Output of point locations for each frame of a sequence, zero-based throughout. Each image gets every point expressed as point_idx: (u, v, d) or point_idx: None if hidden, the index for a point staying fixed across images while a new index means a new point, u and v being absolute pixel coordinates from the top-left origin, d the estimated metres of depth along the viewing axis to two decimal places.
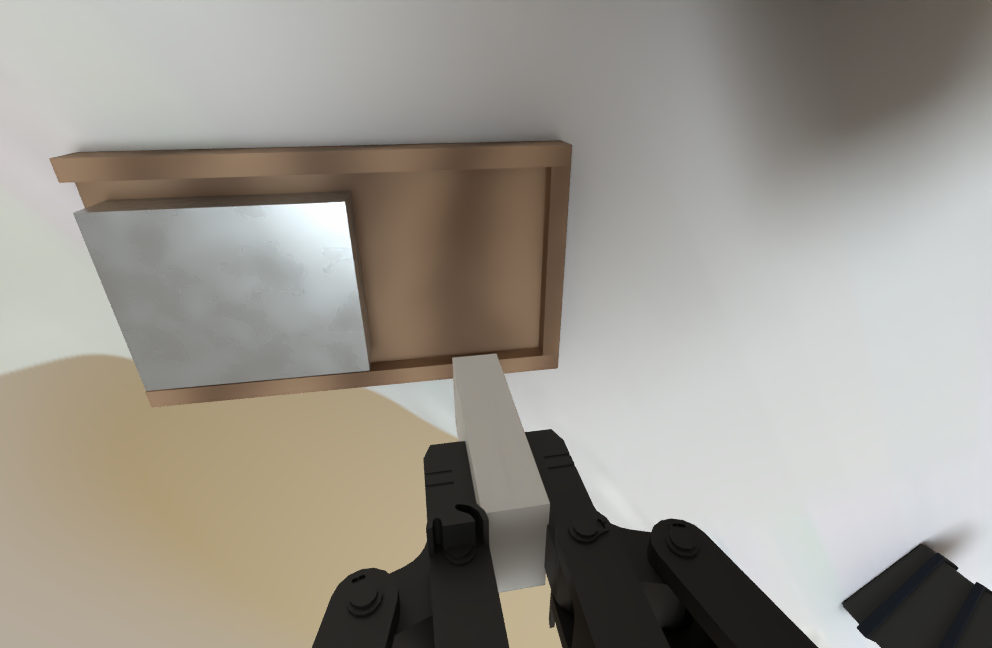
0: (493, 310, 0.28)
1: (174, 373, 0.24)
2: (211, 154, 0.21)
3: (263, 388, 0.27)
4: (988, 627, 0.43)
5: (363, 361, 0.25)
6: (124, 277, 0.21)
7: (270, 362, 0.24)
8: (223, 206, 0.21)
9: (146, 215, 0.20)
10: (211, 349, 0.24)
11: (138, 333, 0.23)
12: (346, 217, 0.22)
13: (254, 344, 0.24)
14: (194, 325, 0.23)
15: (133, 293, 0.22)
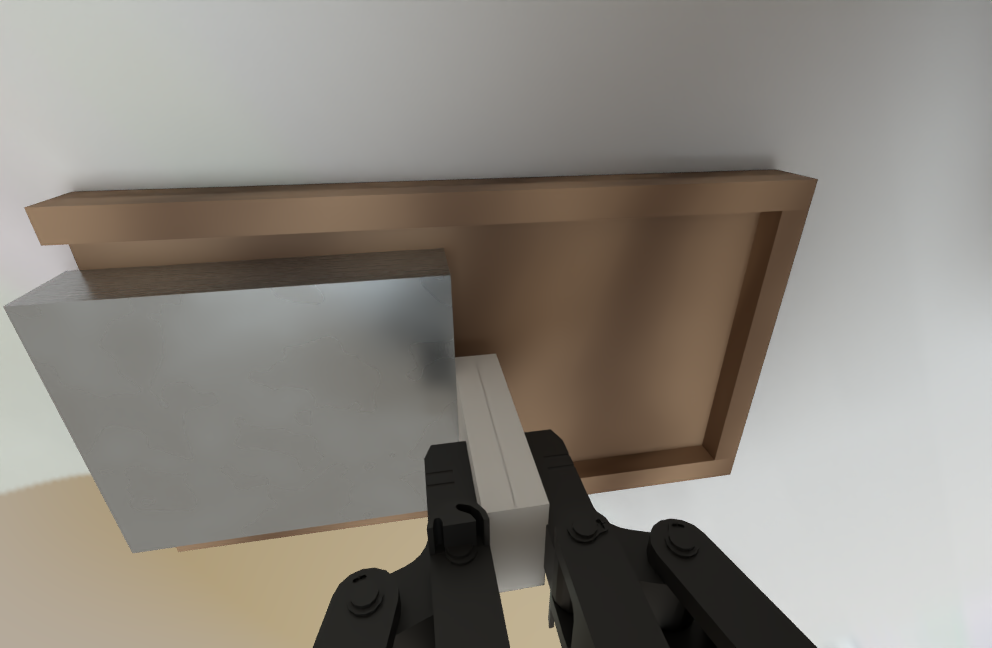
0: (653, 401, 0.20)
1: (175, 527, 0.16)
2: (288, 198, 0.13)
3: None
4: None
5: None
6: (95, 399, 0.13)
7: (320, 504, 0.16)
8: (256, 287, 0.13)
9: (129, 306, 0.12)
10: (233, 493, 0.15)
11: (118, 477, 0.14)
12: (450, 298, 0.14)
13: (296, 481, 0.16)
14: (206, 461, 0.15)
15: (109, 423, 0.14)
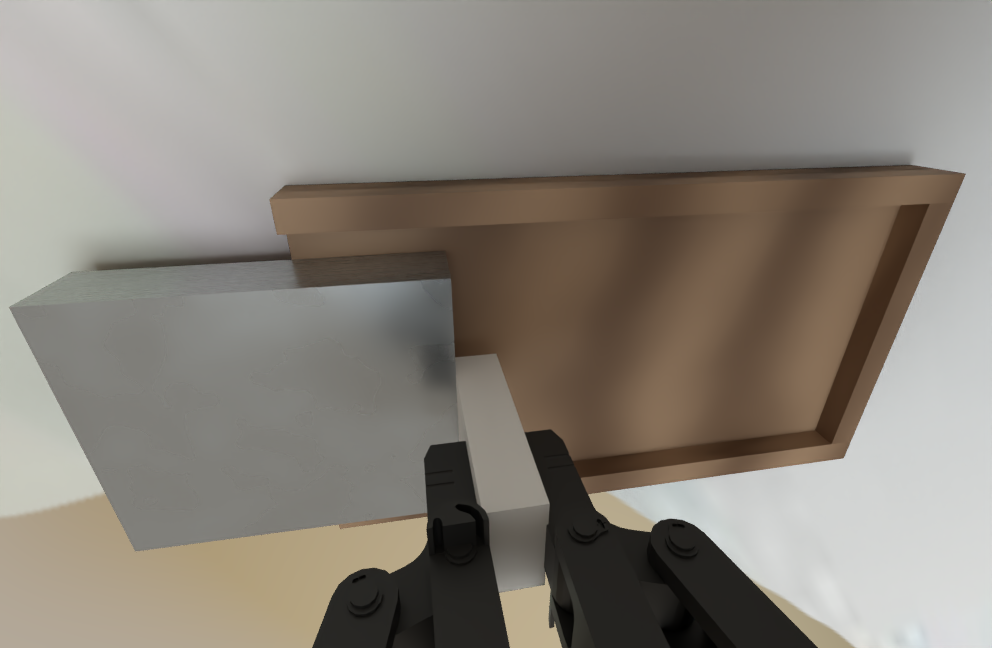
0: (777, 387, 0.21)
1: (177, 526, 0.16)
2: (496, 191, 0.14)
3: None
4: None
5: None
6: (98, 399, 0.13)
7: (321, 505, 0.16)
8: (258, 289, 0.13)
9: (132, 307, 0.12)
10: (234, 493, 0.16)
11: (122, 476, 0.15)
12: (451, 301, 0.14)
13: (297, 482, 0.16)
14: (208, 461, 0.15)
15: (113, 422, 0.14)
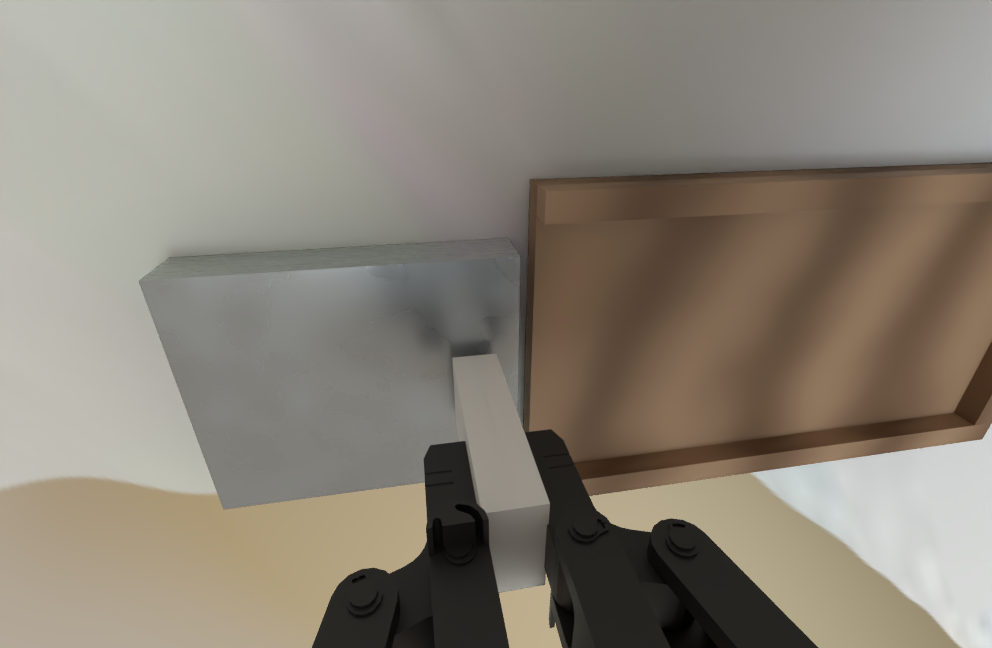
0: (928, 371, 0.22)
1: (263, 486, 0.17)
2: (736, 183, 0.15)
3: (664, 476, 0.21)
4: None
5: None
6: (206, 366, 0.15)
7: (391, 466, 0.18)
8: (352, 265, 0.14)
9: (244, 281, 0.14)
10: (316, 454, 0.17)
11: (219, 438, 0.16)
12: (518, 277, 0.15)
13: (372, 445, 0.17)
14: (296, 424, 0.16)
15: (216, 387, 0.15)
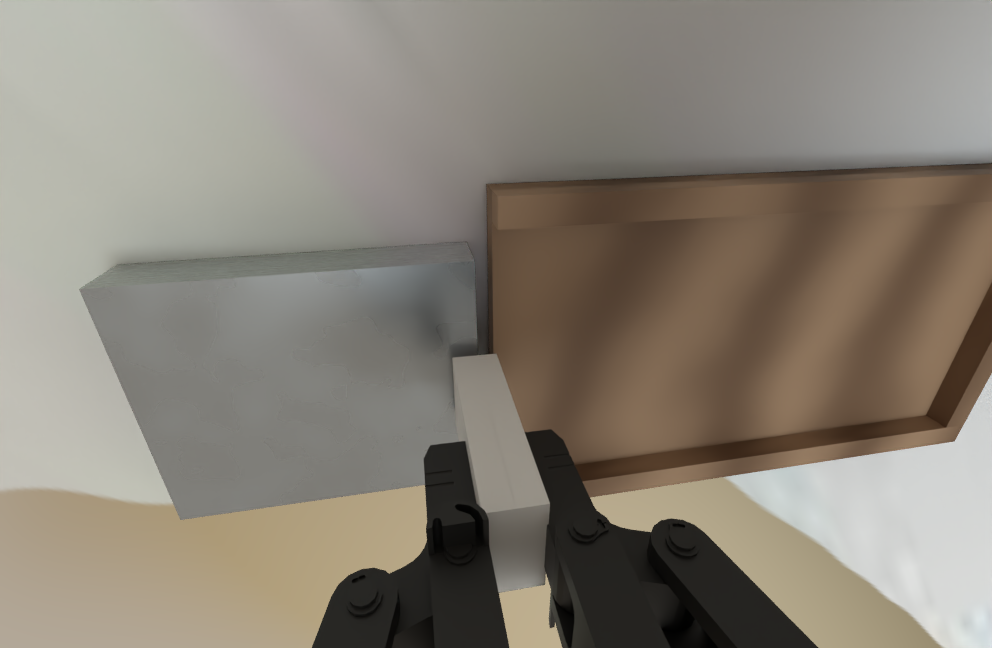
0: (898, 373, 0.22)
1: (220, 495, 0.17)
2: (693, 187, 0.15)
3: (632, 482, 0.21)
4: None
5: None
6: (154, 375, 0.15)
7: (352, 474, 0.18)
8: (301, 272, 0.14)
9: (189, 289, 0.14)
10: (273, 463, 0.17)
11: (172, 447, 0.16)
12: (474, 281, 0.15)
13: (331, 453, 0.17)
14: (251, 432, 0.16)
15: (166, 396, 0.15)
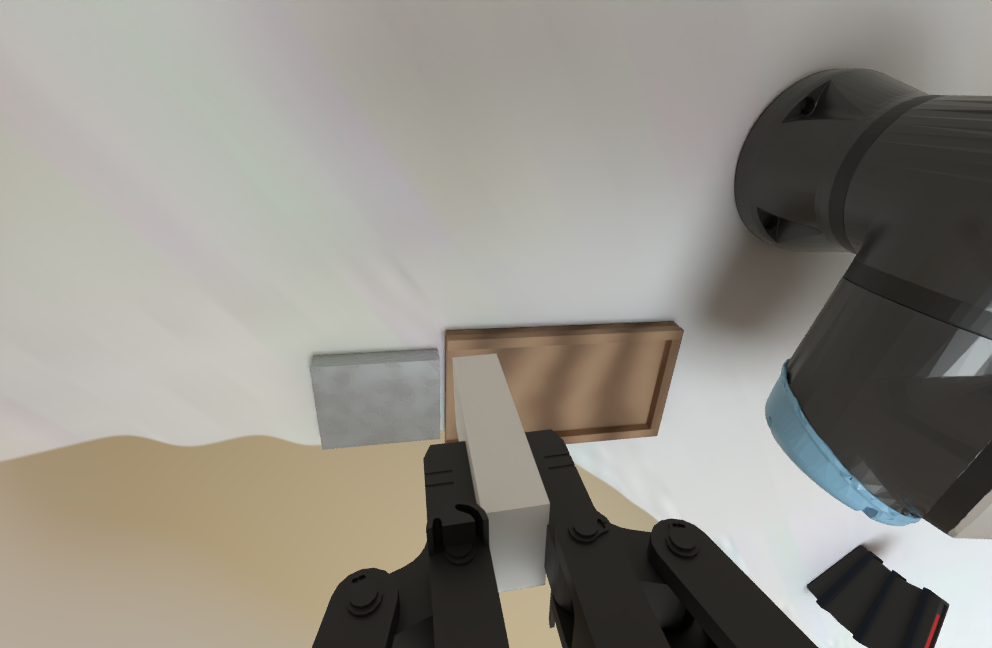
0: (626, 404, 0.51)
1: (338, 440, 0.45)
2: (517, 337, 0.43)
3: None
4: (897, 598, 0.67)
5: (437, 434, 0.46)
6: (326, 395, 0.42)
7: (388, 435, 0.45)
8: (380, 362, 0.42)
9: (343, 368, 0.41)
10: (360, 428, 0.44)
11: (325, 421, 0.43)
12: (438, 366, 0.43)
13: (382, 426, 0.45)
14: (354, 417, 0.44)
15: (328, 402, 0.43)
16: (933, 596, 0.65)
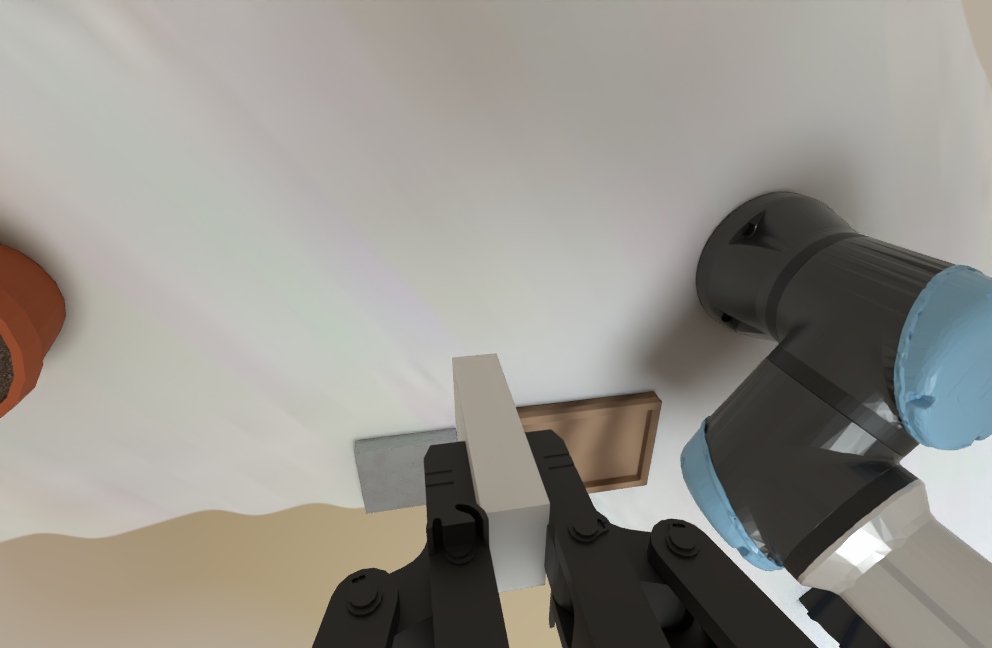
0: (618, 460, 0.59)
1: (379, 506, 0.54)
2: (521, 418, 0.53)
3: None
4: None
5: None
6: (367, 472, 0.52)
7: (419, 499, 0.55)
8: (409, 445, 0.52)
9: (381, 451, 0.51)
10: (396, 496, 0.54)
11: (368, 491, 0.53)
12: None
13: (413, 492, 0.54)
14: (391, 487, 0.54)
15: (369, 477, 0.52)
16: None
